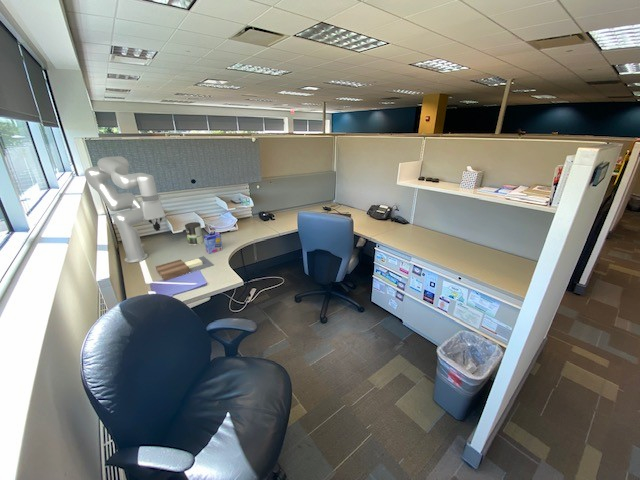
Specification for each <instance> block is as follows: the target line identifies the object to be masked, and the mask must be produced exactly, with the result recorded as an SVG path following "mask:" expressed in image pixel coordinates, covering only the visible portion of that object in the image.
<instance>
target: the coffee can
mask: <svg viewBox="0 0 640 480" xmlns="http://www.w3.org/2000/svg"><path fill="white" fill-rule="evenodd" d="M184 228H185V233H186V238H187V245H190V246H198V245H201V244H203V243H204V236H203V233H202V227H201V223H200V222H198V221H197V222H196V221H195V222H194V221H192V222H188V223H186V224H184Z"/></svg>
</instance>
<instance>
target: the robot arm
mask: <svg viewBox="0 0 640 480" xmlns="http://www.w3.org/2000/svg"><path fill="white" fill-rule="evenodd" d="M96 164H97V166H96V165H95V166H90V167H89V168H86V169H85V170H84V176H85V180H86V181H87V183H88V184H89V186H90V187H91V188H92V189H94V191H96V192H97V193H98V194H99V196H100V198H101V199H102V201H103V202H104V204H105V205H106V207H107V208H108V210H110V211H112V212H116V213H115V214H114V215H113V217H112V219H113V222H114V223H115V226H116V227H117V230H118V234H119V235H120V238H121V243H122V246H123V249H124V252H125V258H124V262H125V263H129V264H131V263H133V264H134V263H138V262H141V261H144V260H147V258H148V253H146V252H145V251H144V247H143V244H142V240H141V236H140V233H139V231H138V229H137V228H135V227H134V226H135V225H138V224H141V223H150V224H152V226H153V230H154V231H156V232H158V231H161V230H160V229H161V224H160V223H161V222H162V220H165V219H166V216H165V209H164V207H163V204H162V200H161V199H160V198H162V195H161V194H158V191H157V187H156V183H155V178H154V175H152V174H149V173H148V174H147V173H145V172H135V173H129V168H130V164H129V160H128V159H127V158H125V157H123V156H120V155H117V156H105V157H101V158H100V159H98V161H97V163H96ZM111 180H112V182H113V183H114V185H115V186H116V187H119V188H120V189H123V190H132V189H138V188H139V192H140V196H141V200H140V201H139V199H138V198H137V197H136V195H134V194H133V193H132V192H123V193H119V192H117V189H116V188H115V187H114V186H113V185H111V184H109V183H108V182H105V181H111Z"/></svg>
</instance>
